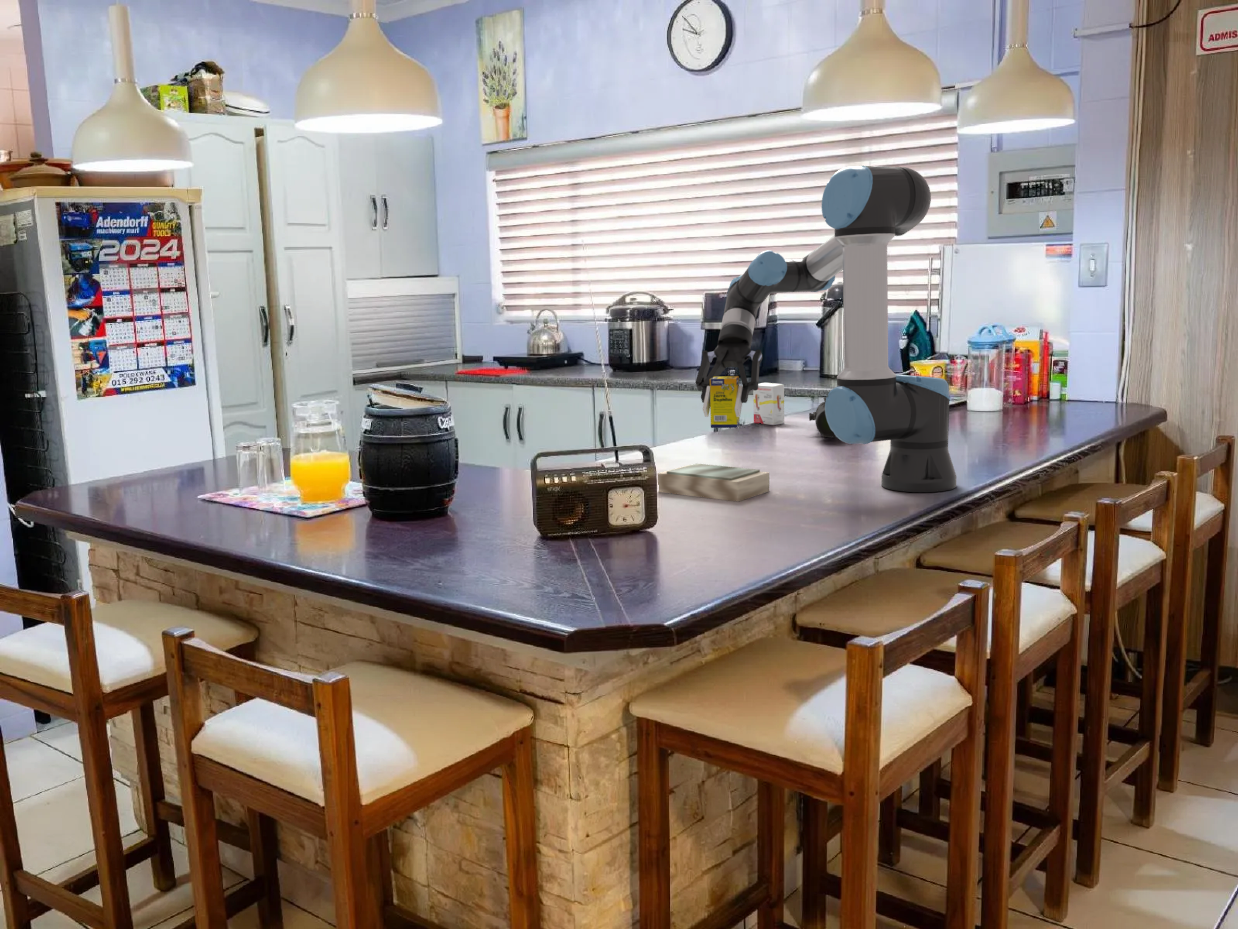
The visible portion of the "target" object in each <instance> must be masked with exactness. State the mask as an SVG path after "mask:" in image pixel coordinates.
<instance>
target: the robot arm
mask: <svg viewBox="0 0 1238 929" xmlns="http://www.w3.org/2000/svg"><path fill="white" fill-rule="evenodd" d="M931 202H932V194H931V189H930V186H929V184H928V182H927V180H926V179H925V177H923V175H922V174H920V173H919V171H916V170H915V169H911V168H909V167H905V166H876V165H875V166H874V165H871V166H870V165H855V166H846V167H843V168H840V169H839V170H837V171H836V172H834V174H833V175H832V176H831V177H830V178H829V180H828V181H827V183H826V185H825V188H824V190H823V193H822V197H821V214H822V217H823V219H825V221H824V222H825V223H826V225H828V226H829V227H831V228H832V229H834V235H832V236H831V237H830V238H828V239H827V240H826V241H824V242H823V243H822V244H821V245H820V246H818V247H816V248H815V249H814V250H813V251H811V252H810V253H808V254H807V255H805V256H803V257H802V258H790V259H789V258H788V259H787V258H786V259H785V258H784V257H783V256H782V255H781V254H780V253H779V252H774V251H773V250H764V251H761V252H760V253H759V254H757V256H756V257H755V258H754V259H753V260H752V261H751V262H750V264H749V266H748V267H747V269H746V270H745V271H744V272H743V274H741V275H739V276H737V277H734V278H733V279H732V280H731V281H730V284H729V286H728V289H727V291H726V293H727V294H726V300H725V305H724V311H723V316H722V321H721V326H720V331H719V335H718V340H717V344H716V345H717V346H716V347H715V349H714V350H713V351H708V350H702V352H701V353H702V355H701V356H702V361H701V363H700V366H699V369H698V372H697V374H696V375H697V376H696V378H695V381H694V382H695V386H696V389H697V391H700V392H701V394H700V400H701V403H702V404H703V405H702V412H703V414H704V417H706V418H708V417H709V415H710V414H709V413H710V379H711V378H713V377H716V376H721V375H722V372H725V370H726V368H731V367H732V368H738V372H739V377H740V380H741V383H742V385H739V387H738V393H737V398H736V404H735V413H736V416H737V417H741V414H742V408H743V404H747V403H748V401H749V400H748V399H749V394H750V392H751V391H753V390H757V389H758V384H759V379H760V365H761V363H762V360H763V354H762V350H761V349H756V350H751V348H752V347H751V346H752V342H753V334H754V330H755V325H756V319H757V314H758V311H759V308H760V307H761V305H762V304H763V303H764V302H765V301H766V299H767V298H768V297H769V295H770V294H780V293H781V294H783V293H784V294H785V293H808V292H810V293H818V292H821V291H827V290H829V289H830V288H831V287H832V286H833V283H834V282H835V280H836V276H837V275H838V274H839V273H841V272H842V284H843V285H842V286H843V287H842V289H843V290H842V292H843V293H842V294H843V296H842V297H843V300H842V301H843V304H842V305H843V351H844V352H843V357H844V358H843V364H844V367H843V369H842V371H841V372H839V374H838V375H837V376H836V387H834V388H832V389H831V390H830V391H829V392H828V394H827V396H826V397H827V398H826V402H825V401H824V402H825V414H826V419H827V422H828V424H829V427H830V429H831V430H832V431H833V432H834V434H835V435H836V438H837V439H839V440H840V441H841V442H843V443H846V444H851V445H857V444H859V445H860V444H862V445H868V444H870V443H875V442H877V443H878V442H885V441H890V442H889V444H890V446H889V447H890V448H889V452H888V455H887V458H886V461H885V464H884V467H883V469H882V472H881V482H880V483H881V487H882V488H884V489H887V490H893V491H898V492H904V493H905V492H908V493H937V492H944V491H945V492H946V491H950V490H953V489H955V488H957V473H956V470H955V468H954V464H953V460H952V458H951V454H950V451H949V429H950V428H949V426H950V425H949V423H950V401H951V397H950V389H949V388H950V387H949V383H948V382H947V380H946V379H944V378H941V377H931V376H921V375H920V376H919V375H910V374H909V375H907V374H898V373H897V374H896V373H895V372H894V371H893V370H892V369H891V368H890V366H889V320H888V318H889V317H888V316H889V315H888V314H889V309H888V304H889V302H888V301H889V298H888V297H889V295H888V280H889V279H888V245H889V243H890V242H891V241H892V239H893V238H895V237H901V236H903V235H905V234H907V233H909V232H910V231H911V230H912V229H914V228H915V227H916V226H918V225H919V224H920V223H921V222H922V221H923V220H924V218H926V216H927V214H928V212H929V209H930V207H931ZM714 358H716V360H715V363H714V365H713V367H712V369H711V370H710V368H711V367H710V366H711V363H712V361H713V360H714ZM750 358H751V375H750V381H748V378H747V375H746V370H745V367H744V363H745V362H746V361H747V360H748V359H750ZM709 370H710V372H709Z"/></svg>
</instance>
